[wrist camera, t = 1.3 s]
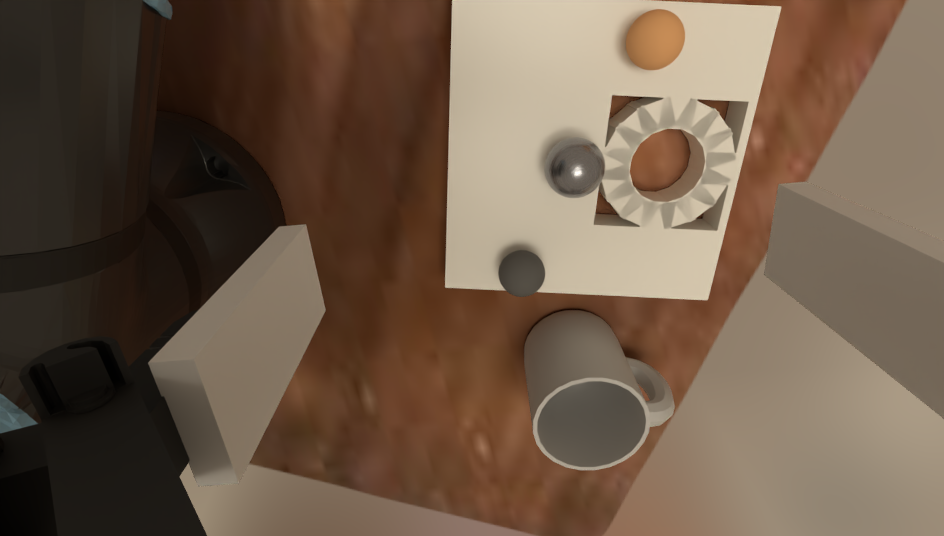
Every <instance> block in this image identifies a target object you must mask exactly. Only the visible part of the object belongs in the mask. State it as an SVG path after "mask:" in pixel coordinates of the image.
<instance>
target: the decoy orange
mask: <svg viewBox="0 0 944 536" xmlns="http://www.w3.org/2000/svg"><path fill="white" fill-rule="evenodd" d="M684 42H685V30H684V26H683V24H682V22H681V20H680V19H679V17H678V16H676V15H675V14H674V13H672V12H670V11H668V10H663V9H655V10H651V11H648V12H646V13H644V14H642V15H641V16H639V17H638V18H637V19H636V20H635V21H634V23H633V24H632V25H631V27H630V29H629V31H628V34H627V37H626V50H627V54H628V56H629V58H630V60H631V61H632V62H633V63H634V64H635V65H636V66H638V67H640V68H642V69H645V70H659V69H662V68H664V67H666V66H668V65H670V64H671V63H672V62H673V61H674V60H675V59H676V58H677V57H678V56H679V54H680V53H681V51H682V48H683V46H684Z"/></svg>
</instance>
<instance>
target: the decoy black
mask: <svg viewBox="0 0 944 536" xmlns="http://www.w3.org/2000/svg"><path fill="white" fill-rule="evenodd" d="M498 275H499V280H500V283H501V285H502V286H503V288H504V289H505V290H506V291H507V292H509V293H510V294H512V295H515V296H519V297H524V296H529V295H532V294H534V293H535V292H537V291H538V290H539V289H540V287H541V286H542V284H543V282H544V279H545V268H544V265H543V262H542V261H541V259H540V258H539V257H538V256H537V255H536V254H534V253H532V252H530V251H526V250H517V251H514V252H511V253H510V254H508V255H507V256H506V257H505V258H504V259H503V260H502V262H501V264H500V266H499V272H498Z"/></svg>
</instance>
